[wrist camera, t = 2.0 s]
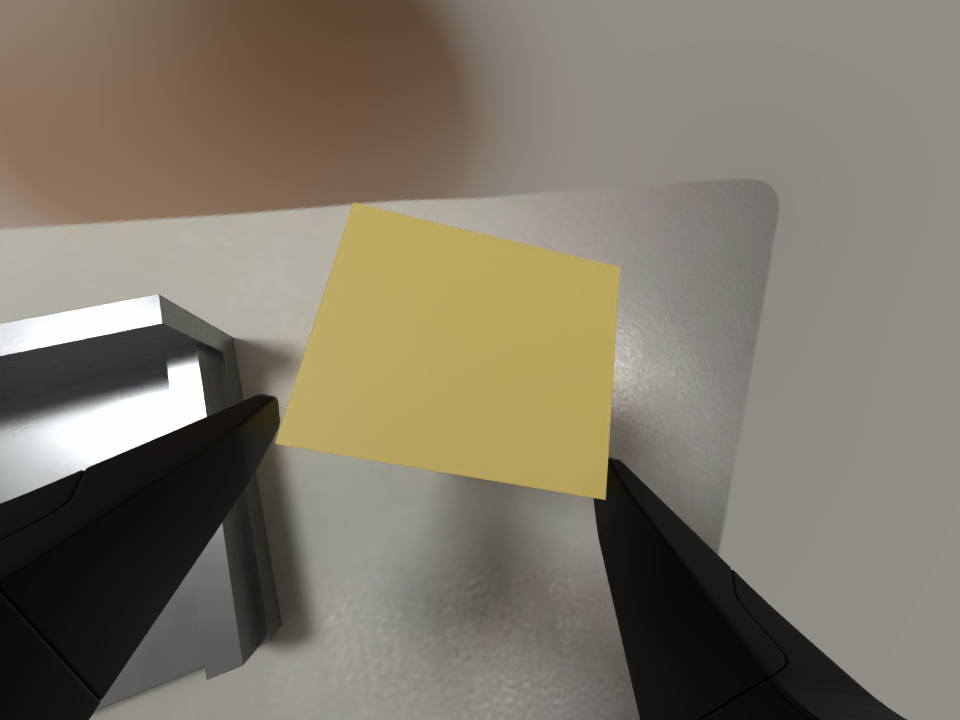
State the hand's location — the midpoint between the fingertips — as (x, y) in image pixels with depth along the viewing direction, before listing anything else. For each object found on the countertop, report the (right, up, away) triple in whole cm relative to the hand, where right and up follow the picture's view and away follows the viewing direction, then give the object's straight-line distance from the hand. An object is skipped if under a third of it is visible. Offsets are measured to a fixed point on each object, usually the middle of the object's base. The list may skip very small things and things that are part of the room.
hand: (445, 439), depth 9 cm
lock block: (-1, -1, +9) cm, 9 cm away
